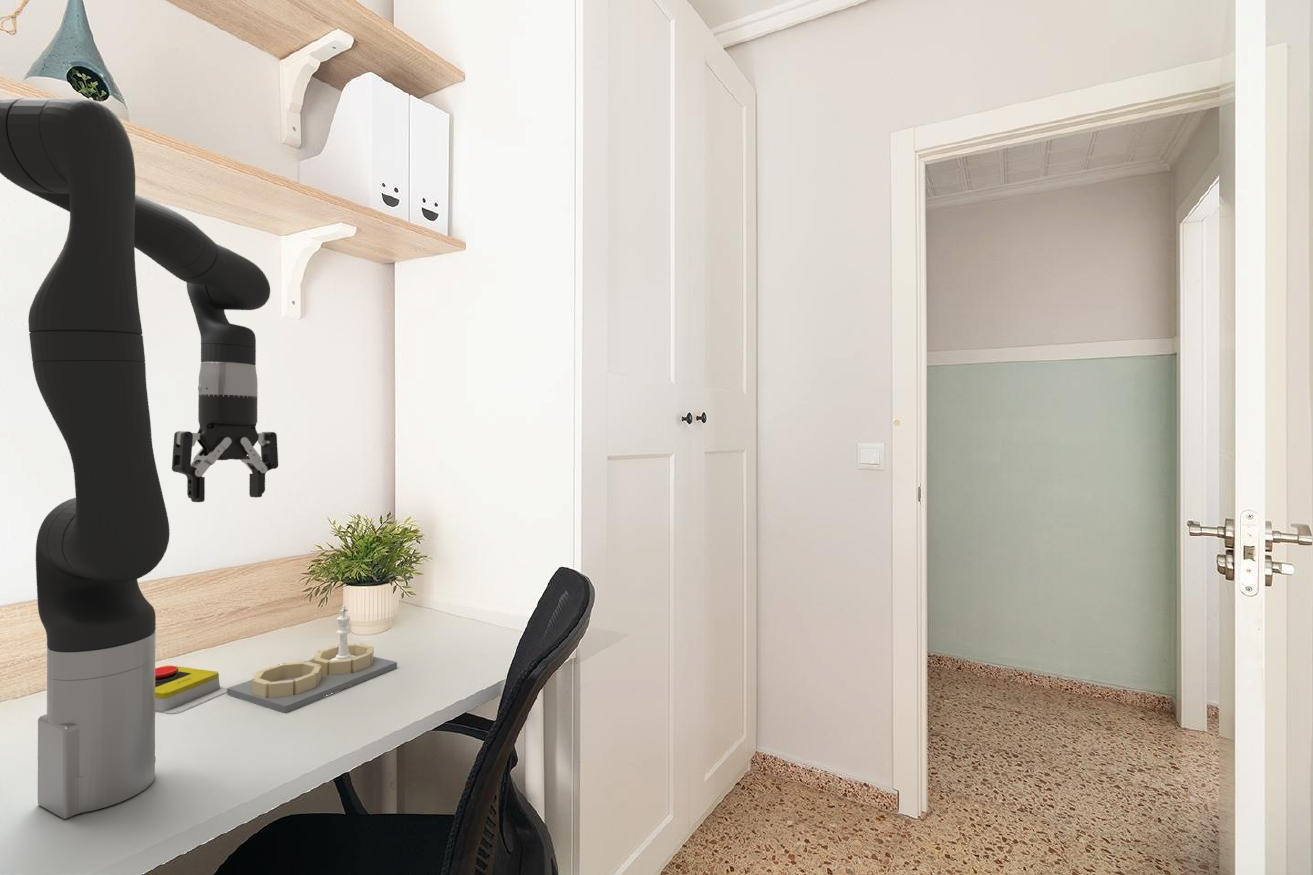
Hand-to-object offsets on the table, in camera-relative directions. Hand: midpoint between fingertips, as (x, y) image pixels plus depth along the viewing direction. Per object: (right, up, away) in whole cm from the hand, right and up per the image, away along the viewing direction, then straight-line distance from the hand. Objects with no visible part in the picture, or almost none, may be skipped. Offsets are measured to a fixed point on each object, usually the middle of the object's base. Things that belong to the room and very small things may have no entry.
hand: (228, 499), depth 98 cm
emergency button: (-9, -31, 0) cm, 32 cm away
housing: (+10, -30, +6) cm, 32 cm away
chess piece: (+13, -29, +10) cm, 34 cm away
